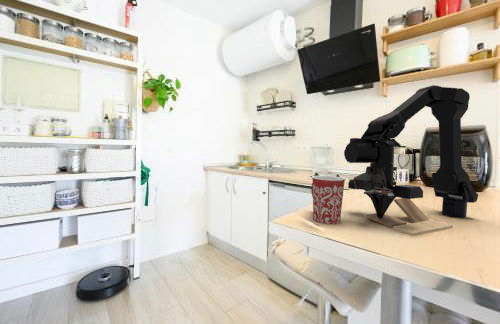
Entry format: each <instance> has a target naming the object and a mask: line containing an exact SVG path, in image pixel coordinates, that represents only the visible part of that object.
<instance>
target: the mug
mask: <svg viewBox="0 0 500 324" xmlns="http://www.w3.org/2000/svg"><path fill="white" fill-rule="evenodd" d="M311 178H312V183H311V197H312V215H313V216H312V219H313V221H315V222H316V223H319V224H323V225H337V224H340V223H341V217H342V216H341V215H342V208H343V198H344V190H345V188H344V187H345V182H346V178H345V177H342V176H341V177H340V176H334V175H313V176H311ZM316 223H314V224H315V225H316V226H319V227H320V225H319V224H316Z"/></svg>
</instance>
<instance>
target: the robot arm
mask: <svg viewBox="0 0 500 324" xmlns="http://www.w3.org/2000/svg"><path fill="white" fill-rule="evenodd" d="M470 99H471V98H470V93H469V92H468V91H467V90H465V89H463V87H462V88H460V87H459V88H457V87H448V86H445V87H444V86H439V85H433V84H432V85H428V86H426V87H425V86H424V87H421V88H419V89H418V90H416V91H415V93H414V94H413V95H411V96H410V97H408V98H407V99H406V100H405V101H404V102H402V103H401V104H399V106H397V107H396V108H395V109H393V110H392V111H390V112H388V113H386V114H383V115H380V116H378V117H376V118H375V119H373V120H371V121H370V122H369V123H368V124H367V128H366V130H365V131H364V133H363V134H362V135H361V137H351V138H349V142H348V143H347V144H346V146H345V149H344V151H343V155H344V159H345V161H346V162H347V163H349V164H369V165H368V166H366V168H365V172H362V173H360V174H359V175H357V176H354V177H353V178H352V179H349V181H348V182H347V188H348V189H351V190H358V191H359V190H362V191H363V194H364V195H366V196H367V197H368V198H369V199H370V200H371V203H372V204H373V207H374V210H375V213H377V216H378V218H382V217H383V216H384V214H386V213H387V211H388V209H389V208H390V206H391V204H392V203H394V200H395V199H397V198H398V199H400V198H405V199H411V200H412V199H424V190H423V189H422V187H421V186H419V185H412V184H411V185H410V184H398V185H397V181H394V172H398V171H397V170H398V166H395V165H394V164H395V161H394V160H395V148H401V146H402V145H401V144H400V143H399V142H398V141H397V140H396V139H395V138H398V136H399V135H400V134H401V133H402V131H404V129H405V128H406V123H407V122H408V121H409V120H410V119H412V118H413V117H414V116H415V115H417V114H418V113H419V112H420V111H422V110H423V109H424V108H426V107H427V108H429V109H430V110H431V115H433V117H434V118H435V119H436V120H437V121H438V140H439V142H438V143H439V144H438V146H439V168H438V169H437V170H436V172H432V174H431V178H432V180H431V186H433V187H432V188H433V192H434V195H435V197H438V198H442V205H441V206H442V207H441V216H445V217H449V218H458V219H459V218H460V219H465V218H467V213H468V203H472V204H474V203H476V202H477V201H478V198H479V194H478V193H477V191H476V189H474V187H473V186H472V184H471V179H470V175H469V174H468V172H466V170H465V168H463V166H462V165H463V163H462V162H463V161H462V118H463V116H465V114H466V113H467V111H468V109H469V104H470V103H469V101H470Z"/></svg>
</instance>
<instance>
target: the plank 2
mask: <svg viewBox="0 0 500 324" xmlns="http://www.w3.org/2000/svg"><path fill="white" fill-rule="evenodd" d="M393 203H395V204H396V206H398V207H399V209H400V210H401V211H402V212H403V213H404V214H405V215H406V216H407V218H408V219H409V220H410V221H411V223H416V222H422V221H428V220H431V219H430V218H429V217H428V216H427V215H426V214H425V213H424V212H423V211H422V210H421V209H420V208H419V206H418V205H416V204H415V202H414V201H413V200H412V199H405V198H395V199H394V200H393Z"/></svg>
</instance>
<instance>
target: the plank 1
mask: <svg viewBox="0 0 500 324" xmlns="http://www.w3.org/2000/svg"><path fill="white" fill-rule="evenodd" d="M365 218H367V219H369V220H372V221H374V222H377V223H379V224H381V225H383V226H386V227H389V228H392V229H393V226H398V225H404V224H408V222H407V221H405V220H401V219H399V218H396V217H393V216H391V215H387V214H386V213H385V214H384V216H383V217H382V218H378V216H377V213H376V212H374V213H368V214H365Z"/></svg>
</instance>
